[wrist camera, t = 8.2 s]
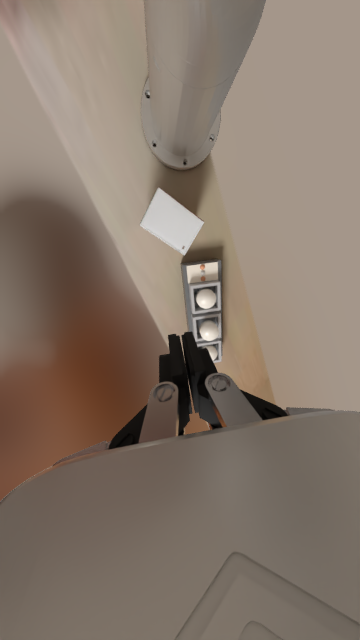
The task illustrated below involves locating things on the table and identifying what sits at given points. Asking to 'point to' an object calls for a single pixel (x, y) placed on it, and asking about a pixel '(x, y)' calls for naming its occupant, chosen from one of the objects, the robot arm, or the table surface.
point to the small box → (171, 221)
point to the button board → (194, 280)
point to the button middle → (209, 330)
